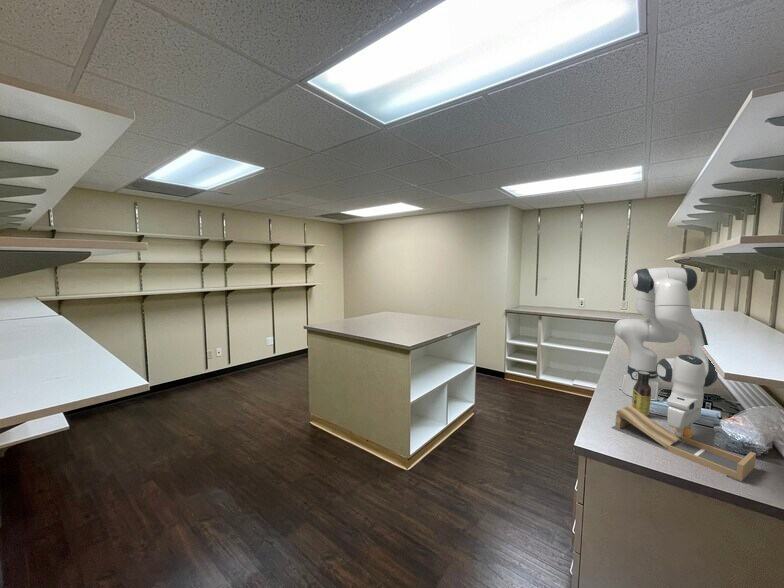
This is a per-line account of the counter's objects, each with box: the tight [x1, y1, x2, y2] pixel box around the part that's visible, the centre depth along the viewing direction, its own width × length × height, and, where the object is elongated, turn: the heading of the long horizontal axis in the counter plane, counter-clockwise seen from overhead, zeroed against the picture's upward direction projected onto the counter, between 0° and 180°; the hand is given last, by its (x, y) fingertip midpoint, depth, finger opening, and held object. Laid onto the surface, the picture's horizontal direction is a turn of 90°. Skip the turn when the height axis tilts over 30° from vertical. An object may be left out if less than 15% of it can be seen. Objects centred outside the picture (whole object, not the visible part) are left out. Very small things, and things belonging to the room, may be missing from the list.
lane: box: [610, 424, 757, 484], centre depth 116 cm, size 13×37×5 cm, turn 30°
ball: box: [673, 426, 693, 440], centre depth 122 cm, size 5×5×5 cm
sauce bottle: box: [631, 371, 652, 418], centre depth 140 cm, size 6×6×20 cm
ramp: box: [614, 404, 681, 448], centre depth 124 cm, size 10×18×7 cm, turn 30°
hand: (683, 433), depth 122 cm, fingers closed on ball, 5 cm apart
